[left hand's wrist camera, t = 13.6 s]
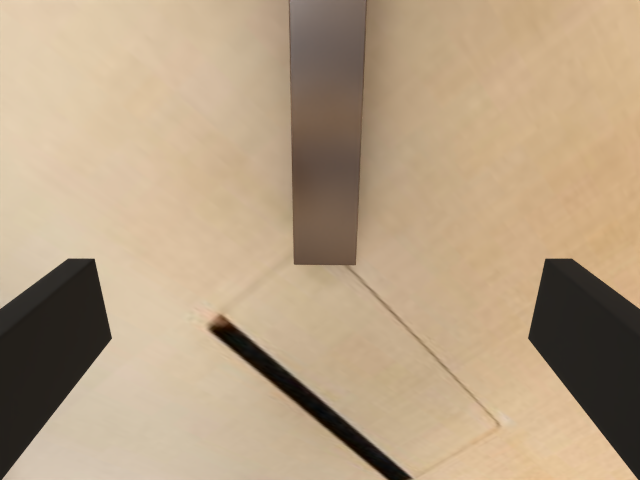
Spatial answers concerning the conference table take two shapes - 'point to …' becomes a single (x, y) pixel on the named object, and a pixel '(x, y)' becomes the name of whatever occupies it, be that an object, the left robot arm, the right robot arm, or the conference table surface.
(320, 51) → the beam
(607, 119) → the conference table surface
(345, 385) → the conference table surface
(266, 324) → the conference table surface
